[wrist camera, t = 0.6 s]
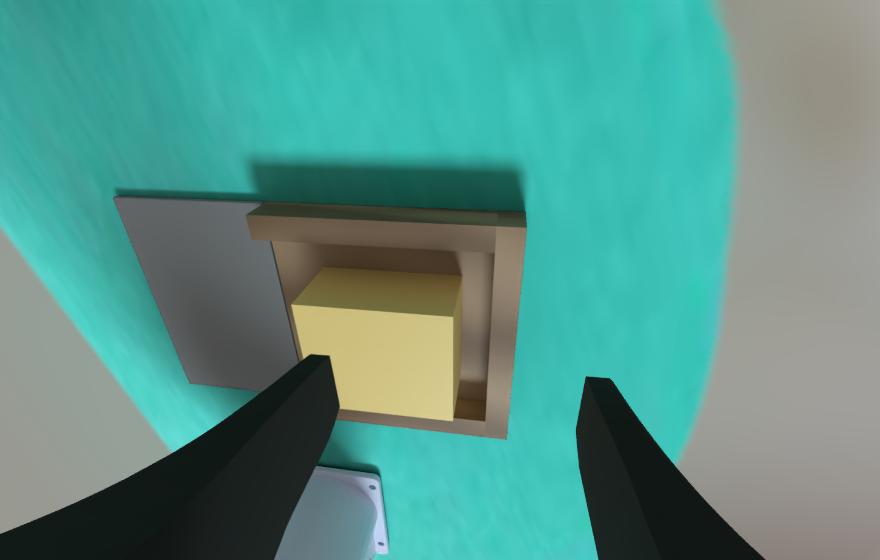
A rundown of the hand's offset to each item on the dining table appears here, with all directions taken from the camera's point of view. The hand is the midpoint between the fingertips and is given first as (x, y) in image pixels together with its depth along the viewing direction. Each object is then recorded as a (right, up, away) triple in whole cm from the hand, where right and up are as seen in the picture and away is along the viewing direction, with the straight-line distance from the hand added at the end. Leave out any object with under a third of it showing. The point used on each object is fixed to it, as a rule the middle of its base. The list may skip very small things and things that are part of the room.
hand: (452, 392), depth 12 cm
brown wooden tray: (-3, +1, +10) cm, 11 cm away
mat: (-13, +2, +12) cm, 17 cm away
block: (-3, +1, +10) cm, 10 cm away
